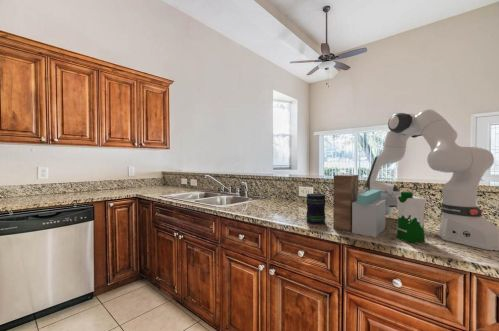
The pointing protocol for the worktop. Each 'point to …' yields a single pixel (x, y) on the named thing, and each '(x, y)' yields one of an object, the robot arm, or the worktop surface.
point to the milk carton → (410, 217)
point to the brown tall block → (344, 200)
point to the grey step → (368, 218)
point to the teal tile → (368, 197)
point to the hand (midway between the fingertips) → (375, 189)
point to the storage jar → (315, 209)
